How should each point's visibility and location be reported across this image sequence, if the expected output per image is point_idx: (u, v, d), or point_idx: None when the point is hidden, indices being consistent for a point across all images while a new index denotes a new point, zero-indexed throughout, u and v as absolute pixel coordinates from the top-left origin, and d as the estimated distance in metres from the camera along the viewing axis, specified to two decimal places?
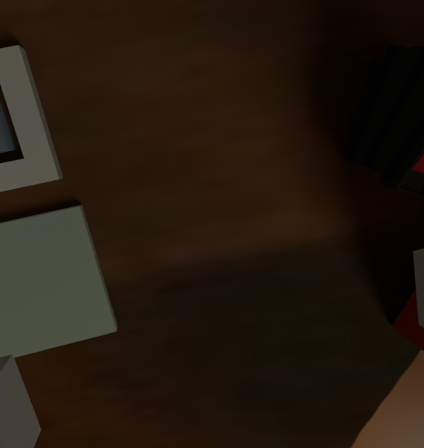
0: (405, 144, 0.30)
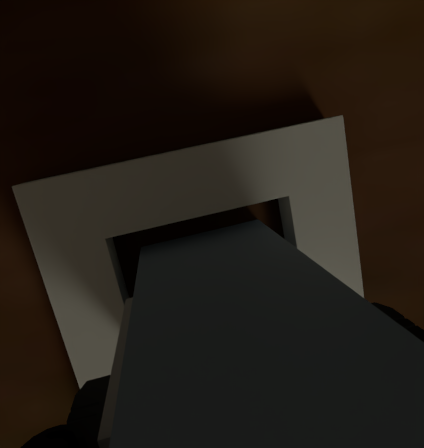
0: None
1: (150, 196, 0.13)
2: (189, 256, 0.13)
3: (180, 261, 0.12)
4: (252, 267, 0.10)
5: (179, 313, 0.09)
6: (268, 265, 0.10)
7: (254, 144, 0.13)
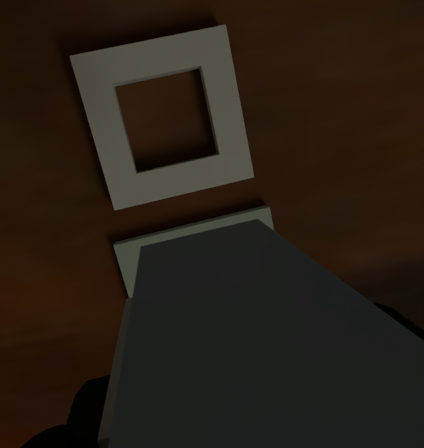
0: None
1: (133, 63, 0.28)
2: (189, 255, 0.13)
3: (179, 260, 0.12)
4: (252, 266, 0.10)
5: (179, 312, 0.09)
6: (268, 265, 0.10)
7: (182, 38, 0.28)
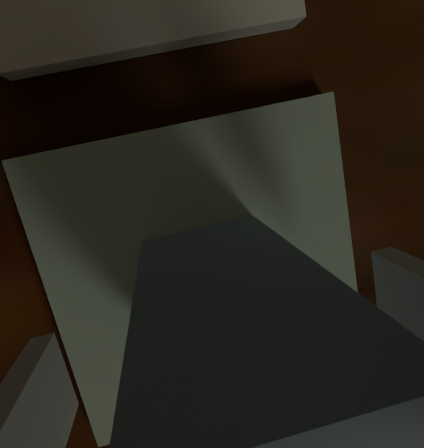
0: None
1: None
2: (187, 247, 0.14)
3: (178, 252, 0.13)
4: (245, 256, 0.11)
5: (177, 296, 0.10)
6: (259, 255, 0.11)
7: None
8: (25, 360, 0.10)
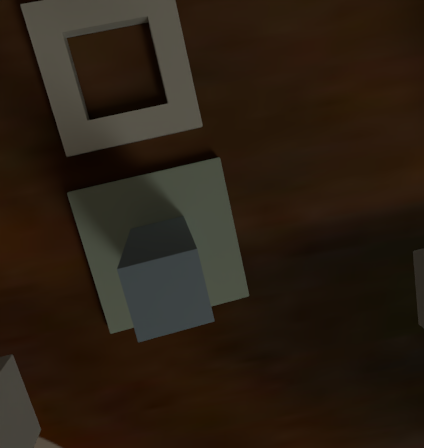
0: None
1: (82, 12, 0.29)
2: (149, 230, 0.31)
3: (145, 232, 0.31)
4: (169, 231, 0.29)
5: (140, 243, 0.27)
6: (173, 230, 0.29)
7: None
8: None
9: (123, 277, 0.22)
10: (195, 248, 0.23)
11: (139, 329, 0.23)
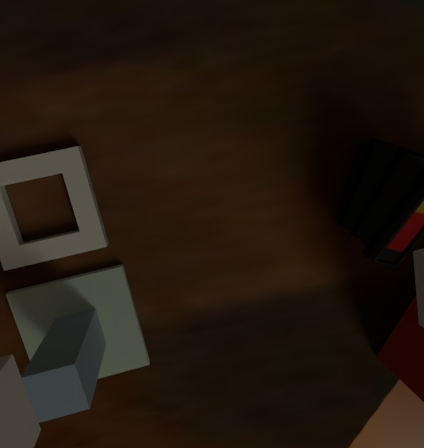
0: (380, 228, 0.39)
1: (13, 172, 0.41)
2: (64, 325, 0.43)
3: (60, 327, 0.43)
4: (74, 331, 0.41)
5: (49, 345, 0.39)
6: (77, 331, 0.41)
7: (47, 155, 0.41)
8: None
9: (24, 383, 0.34)
10: (74, 363, 0.34)
11: (37, 415, 0.35)
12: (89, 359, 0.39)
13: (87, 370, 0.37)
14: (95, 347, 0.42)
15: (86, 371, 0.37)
